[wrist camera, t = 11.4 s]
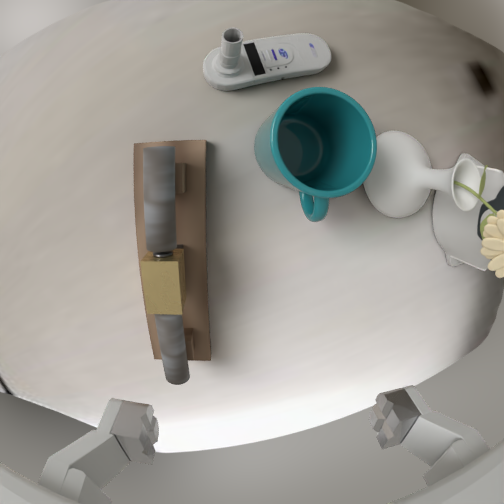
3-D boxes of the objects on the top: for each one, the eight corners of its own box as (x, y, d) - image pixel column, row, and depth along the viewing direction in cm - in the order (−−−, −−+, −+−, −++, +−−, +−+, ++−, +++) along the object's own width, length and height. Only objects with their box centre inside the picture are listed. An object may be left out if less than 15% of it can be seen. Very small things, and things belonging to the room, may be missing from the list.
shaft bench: (206, 141, 29) (201, 133, 22) (211, 353, 37) (210, 390, 30) (137, 144, 28) (113, 139, 21) (156, 352, 36) (146, 388, 29)
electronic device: (367, 46, 19) (209, 68, 18) (329, 73, 28) (210, 97, 27) (347, 4, 17) (193, 20, 16) (315, 39, 26) (198, 60, 26)
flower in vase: (346, 138, 30) (534, 127, 6) (413, 126, 30) (573, 126, 6) (367, 237, 34) (519, 336, 11) (428, 215, 34) (569, 275, 11)
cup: (261, 216, 32) (281, 242, 21) (248, 114, 28) (263, 87, 18) (334, 207, 33) (381, 228, 22) (324, 110, 29) (370, 89, 18)
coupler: (183, 245, 28) (177, 258, 24) (186, 298, 30) (182, 317, 26) (150, 246, 28) (139, 258, 24) (155, 298, 29) (147, 316, 26)
